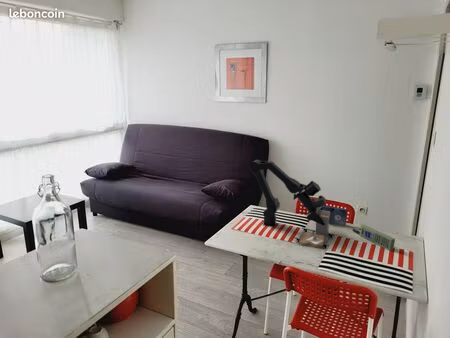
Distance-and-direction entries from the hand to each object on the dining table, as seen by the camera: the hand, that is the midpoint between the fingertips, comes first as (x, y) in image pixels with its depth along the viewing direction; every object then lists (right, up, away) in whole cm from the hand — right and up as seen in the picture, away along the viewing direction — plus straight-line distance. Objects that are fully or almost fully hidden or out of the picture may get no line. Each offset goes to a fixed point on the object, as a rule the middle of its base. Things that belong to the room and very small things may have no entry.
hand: (325, 222), depth 185 cm
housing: (-1, -6, +2) cm, 7 cm away
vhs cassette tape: (+7, -3, +17) cm, 19 cm away
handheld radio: (+23, -9, -5) cm, 25 cm away
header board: (-9, -9, -7) cm, 14 cm away
